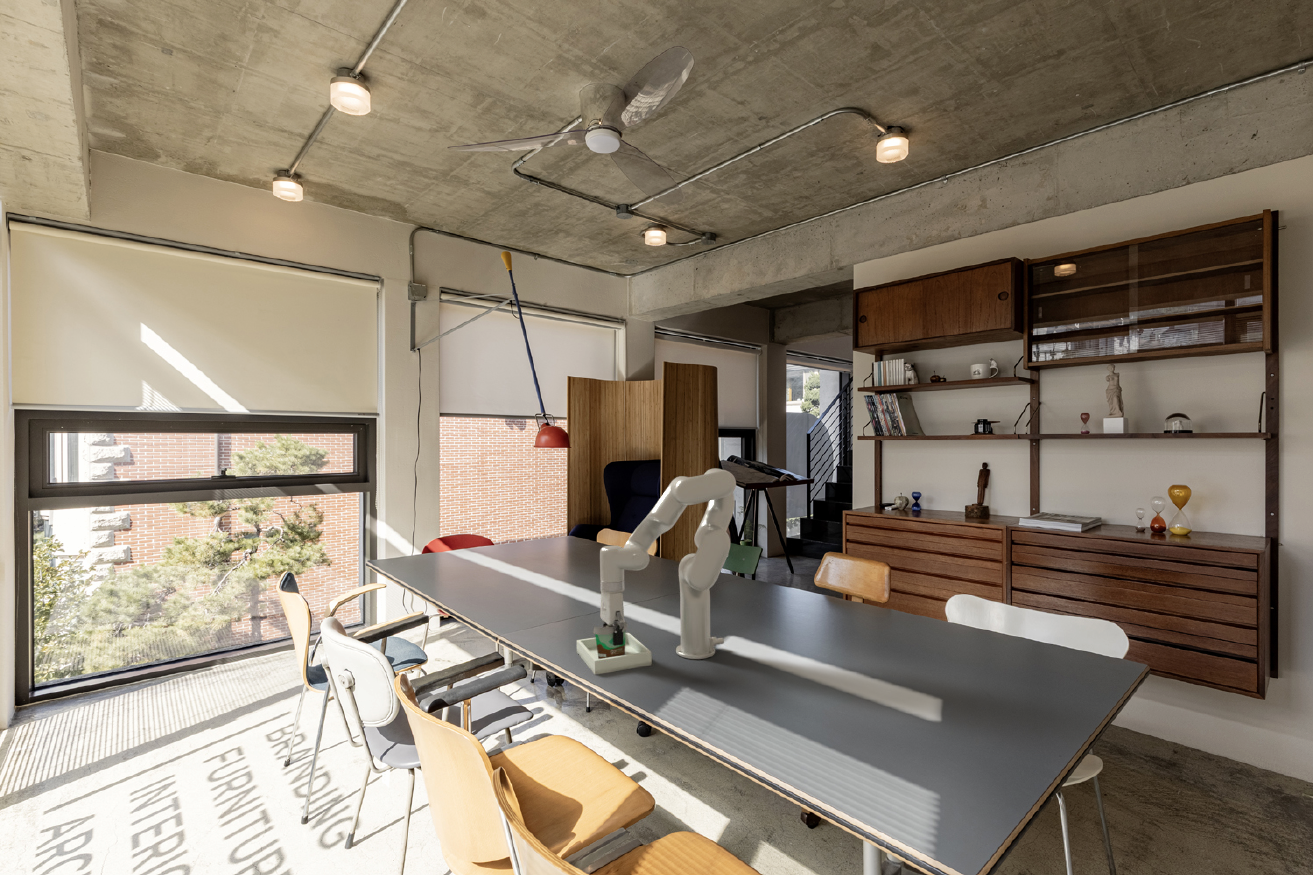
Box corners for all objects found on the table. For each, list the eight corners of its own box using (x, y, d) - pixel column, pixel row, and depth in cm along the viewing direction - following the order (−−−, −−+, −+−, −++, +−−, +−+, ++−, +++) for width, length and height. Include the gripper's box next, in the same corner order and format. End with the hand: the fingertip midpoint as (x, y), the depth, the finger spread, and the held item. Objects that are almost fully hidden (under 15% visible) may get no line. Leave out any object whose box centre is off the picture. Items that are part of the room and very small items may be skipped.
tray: (628, 644, 203) (628, 632, 203) (651, 664, 184) (651, 651, 184) (576, 652, 196) (576, 640, 196) (594, 674, 177) (594, 660, 177)
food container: (607, 663, 182) (605, 629, 183) (594, 659, 187) (592, 627, 187) (637, 652, 191) (635, 620, 192) (624, 649, 195) (622, 618, 196)
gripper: (592, 581, 197) (593, 633, 197) (609, 593, 181) (610, 650, 181) (614, 578, 200) (615, 630, 200) (633, 590, 184) (634, 646, 184)
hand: (613, 639), depth 190 cm, fingers open, 9 cm apart
